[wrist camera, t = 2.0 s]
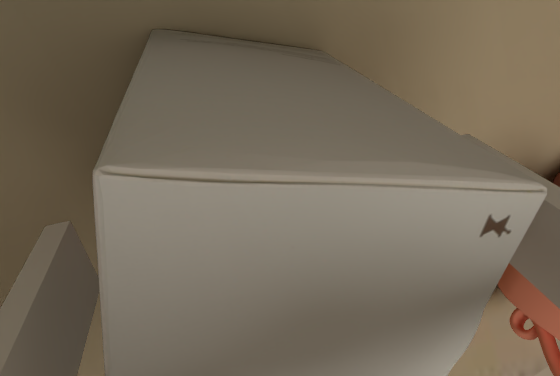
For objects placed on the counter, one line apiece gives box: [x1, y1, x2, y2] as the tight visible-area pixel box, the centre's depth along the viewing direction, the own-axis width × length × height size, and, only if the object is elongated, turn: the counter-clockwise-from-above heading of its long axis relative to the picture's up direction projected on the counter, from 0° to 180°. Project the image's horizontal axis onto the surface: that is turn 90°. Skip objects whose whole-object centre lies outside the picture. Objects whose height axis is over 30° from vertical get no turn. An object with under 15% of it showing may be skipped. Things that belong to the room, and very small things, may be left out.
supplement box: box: [92, 29, 547, 376], centre depth 15 cm, size 9×9×15 cm
